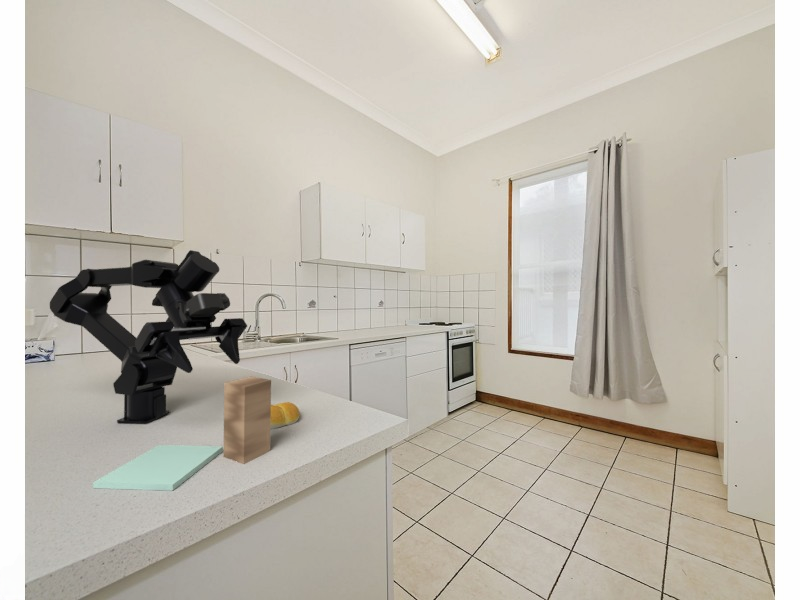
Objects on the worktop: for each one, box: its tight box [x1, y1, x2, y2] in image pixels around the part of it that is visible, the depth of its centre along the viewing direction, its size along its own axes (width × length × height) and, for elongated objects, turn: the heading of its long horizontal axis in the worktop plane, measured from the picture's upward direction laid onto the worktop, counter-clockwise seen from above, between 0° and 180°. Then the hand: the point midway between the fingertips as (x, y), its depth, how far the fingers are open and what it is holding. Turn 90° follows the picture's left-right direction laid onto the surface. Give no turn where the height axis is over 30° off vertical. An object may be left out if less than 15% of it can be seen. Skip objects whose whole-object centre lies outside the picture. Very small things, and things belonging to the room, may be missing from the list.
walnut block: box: [222, 376, 272, 465], centre depth 52 cm, size 5×5×12 cm
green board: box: [92, 444, 224, 492], centre depth 47 cm, size 11×11×1 cm
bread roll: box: [271, 401, 301, 430], centre depth 66 cm, size 8×9×4 cm
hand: (215, 366), depth 59 cm, fingers open, 9 cm apart
